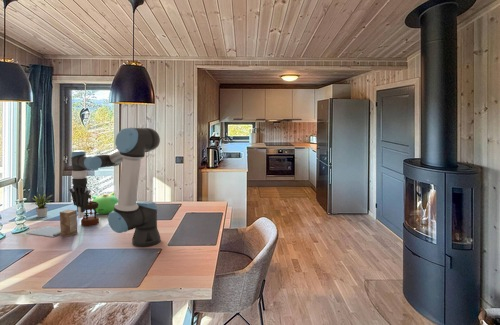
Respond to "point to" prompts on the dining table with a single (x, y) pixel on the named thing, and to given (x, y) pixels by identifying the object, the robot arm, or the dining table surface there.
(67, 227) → the brown rectangular block
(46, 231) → the mat
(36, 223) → the dining table surface
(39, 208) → the house plant
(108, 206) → the green rounded lump
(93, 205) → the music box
